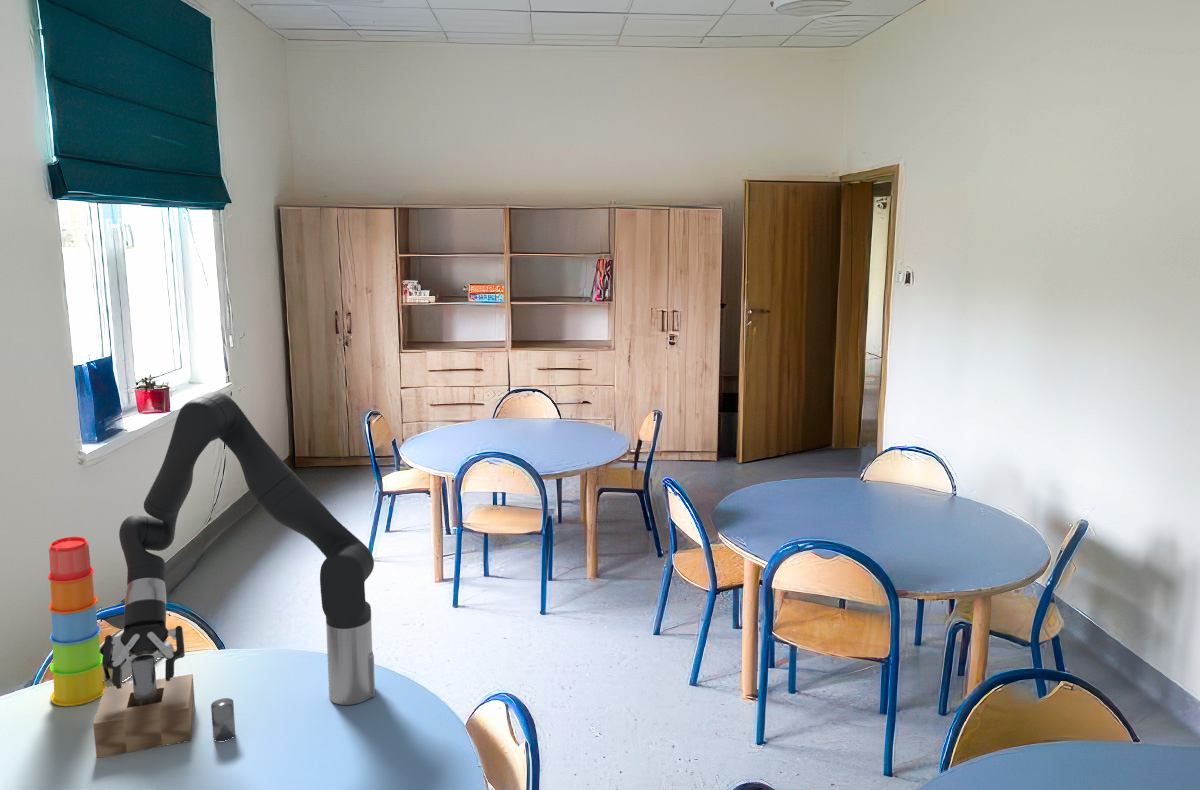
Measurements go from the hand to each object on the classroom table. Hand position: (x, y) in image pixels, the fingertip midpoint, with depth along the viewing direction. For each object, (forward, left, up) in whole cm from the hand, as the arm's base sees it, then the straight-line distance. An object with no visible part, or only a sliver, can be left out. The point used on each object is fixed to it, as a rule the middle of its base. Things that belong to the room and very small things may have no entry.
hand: (143, 683), depth 166 cm
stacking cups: (+15, -21, -11) cm, 28 cm away
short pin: (-14, +6, -11) cm, 19 cm away
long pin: (0, -1, -11) cm, 11 cm away
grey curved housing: (+6, -32, -11) cm, 35 cm away
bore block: (0, -1, -11) cm, 11 cm away
